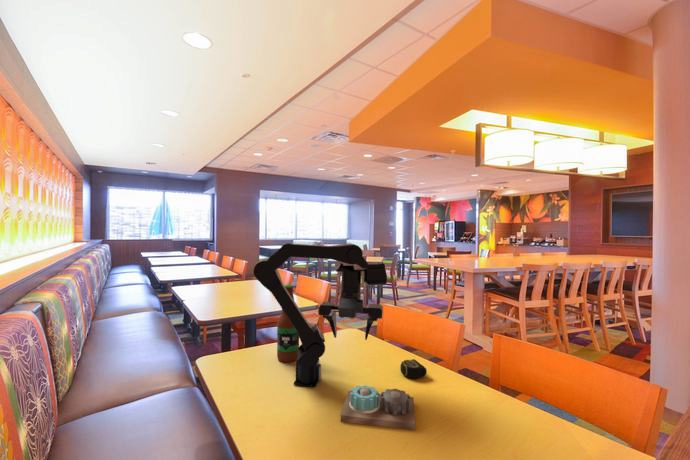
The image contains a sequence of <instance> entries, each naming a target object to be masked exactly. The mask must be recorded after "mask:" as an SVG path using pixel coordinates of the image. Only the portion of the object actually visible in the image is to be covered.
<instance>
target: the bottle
mask: <svg viewBox="0 0 690 460" xmlns="http://www.w3.org/2000/svg"><path fill="white" fill-rule="evenodd" d="M284 286H285V288H286V289H287V291H288V292H289V294H290V295H291V297H292V298H293V300H294V301H295V297H294V293H293V292H294V285H292V284H284ZM276 327H277V328H276V331H277V332H276V335H277V337H276V339H277V341H276V344H277V345H276V354H277V355H276V356H277V357H276V358H277V360H278V361H279V362H281V363H292V362H296V360H297V359H298V347H299V346H300V337H299V334H298V332H297V331H296V329H295V328H294V326H293V324H292V323H291V321H290V320H289V318H288V317H287V315H286V314H285V312H284V311H283V309H282V308H281V314H280V316H279V318H278V320H277V323H276Z"/></svg>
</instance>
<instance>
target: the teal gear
mask: <svg viewBox="0 0 690 460" xmlns="http://www.w3.org/2000/svg"><path fill="white" fill-rule="evenodd" d="M362 388H367V389H369V395H368V396H363V395H360V389H362ZM350 391H351V393H350V404H351V405H353V408H354V409H359V410H361V411H367V410H370V411H371V410H373V409H374V408H375V407H376V408H377V407H378V403H379V394H380V392H379V390H376V387H374V386H369V385H366V384H365V385H357V386H355V387H354V388H352V389H351V390H350Z"/></svg>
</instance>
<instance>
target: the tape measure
mask: <svg viewBox="0 0 690 460" xmlns="http://www.w3.org/2000/svg"><path fill="white" fill-rule="evenodd" d="M399 368H400V373H401V374H402V375H403V376H404V377H407V378H409V379H418V378H421V377H424V376H427V374H428V371H427V370H428V369H427V368H426V367H425V366H424V365H423V364H421V363H420V362H419V361H418V360H416V359H405V360H403V361H401V363H400V367H399Z"/></svg>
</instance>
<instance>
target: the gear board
mask: <svg viewBox="0 0 690 460" xmlns="http://www.w3.org/2000/svg"><path fill="white" fill-rule="evenodd" d="M346 393H347V394H346V397H345V400H344V403H343V406H342V409H341V413H340V422H341V423H342V422H343V423H351V424H361V425H368V426H377V427H385V428H394V429H401V430H402V429H403V430H413V431H416V416H415V405H414V404H415V403H414V397H412V396H410V394H409V393H406V391H405V390H402V389H401V390H400V389H398V388H392V389H390V388H387V389H385V391H381V393H379V403H378V407H377V408H376V407H375V408H374V409H373V410H371V411H370V410H367V411H361V410H359V409H354V408H353V405H351V404H350V393H351V390H349V391H347V392H346ZM360 395H363V396H368V395H369V389H367V388H362V389H360Z"/></svg>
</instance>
